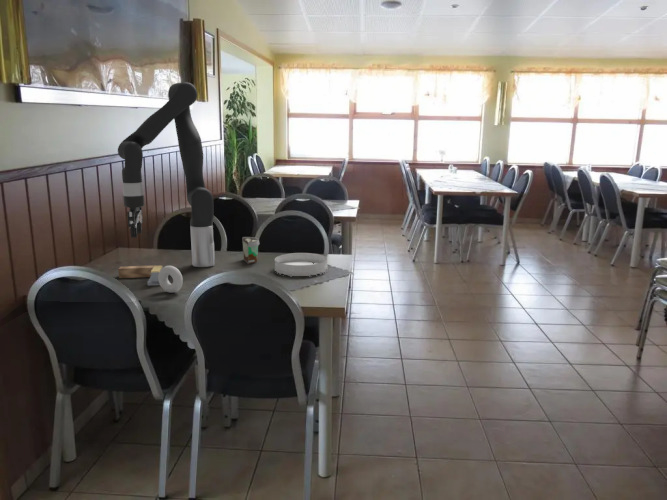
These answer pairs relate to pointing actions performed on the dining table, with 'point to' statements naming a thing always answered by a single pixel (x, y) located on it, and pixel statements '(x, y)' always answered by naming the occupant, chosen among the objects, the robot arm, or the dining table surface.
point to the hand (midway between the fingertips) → (136, 235)
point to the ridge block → (154, 276)
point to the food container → (250, 249)
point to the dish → (300, 263)
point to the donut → (165, 282)
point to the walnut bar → (135, 271)
